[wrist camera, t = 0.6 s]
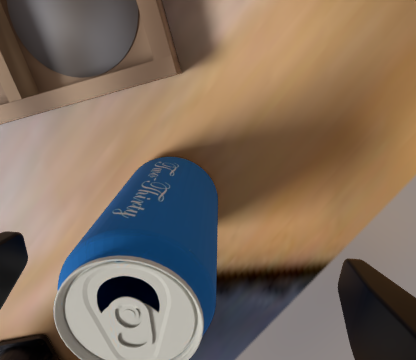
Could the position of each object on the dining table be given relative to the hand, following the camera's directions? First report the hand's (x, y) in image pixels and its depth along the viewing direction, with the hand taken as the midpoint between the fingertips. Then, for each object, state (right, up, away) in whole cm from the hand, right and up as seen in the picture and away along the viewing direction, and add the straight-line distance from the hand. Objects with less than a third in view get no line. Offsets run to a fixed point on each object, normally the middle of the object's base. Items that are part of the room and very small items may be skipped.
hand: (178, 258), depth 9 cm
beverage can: (-2, +1, +14) cm, 15 cm away
